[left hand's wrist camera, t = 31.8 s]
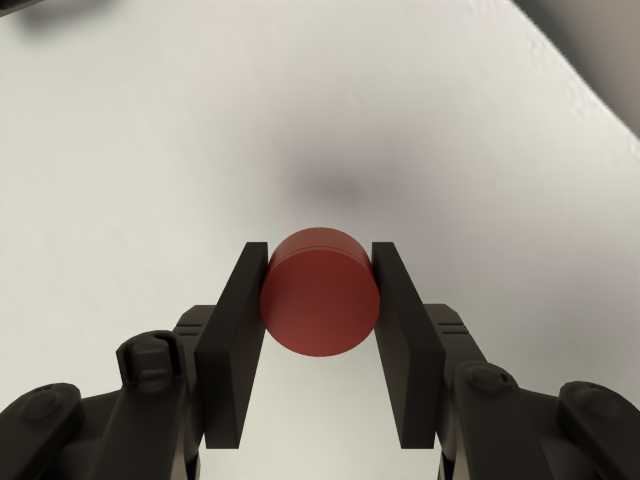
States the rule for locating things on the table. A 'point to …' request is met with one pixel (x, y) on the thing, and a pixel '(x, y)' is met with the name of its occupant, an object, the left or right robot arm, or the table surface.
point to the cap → (319, 293)
